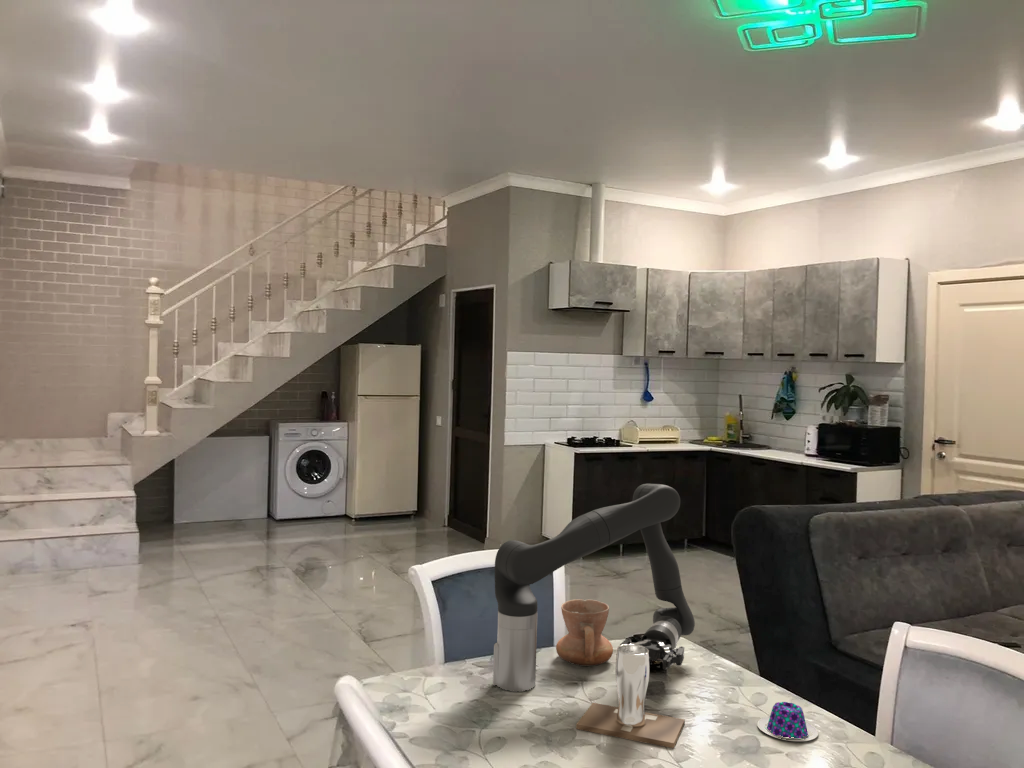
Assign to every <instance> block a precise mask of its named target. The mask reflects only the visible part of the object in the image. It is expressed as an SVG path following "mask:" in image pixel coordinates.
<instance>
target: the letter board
mask: <svg viewBox="0 0 1024 768" xmlns="http://www.w3.org/2000/svg"><path fill="white" fill-rule="evenodd" d="M618 707H619V706H614V705H613V706H612V705H608V704H602V703H596V702H592V703H591V704H590V705H589V707H588V708H587V709H586V711H585V712H584V713H583V714H582V716H581V717H580V719H579V720H578V721H577V722H576V724H575V725H576V726H575V729H576V730H581V731H586V732H591V733H595V734H601V735H606V736H610V737H616V738H621V739H626V740H629V741H635V742H641V743H645V744H649V745H656V746H662V747H665V748H670V749H674V748H675V747H676V744H677V742H678V740H679V738H680V735H681V733H682V731H683V728H684V726H685V724H686V722H685V720H686V719H684V718H679V717H673V716H667V715H662V714H656V713H651V712H646V711H645V717H646V723H645V725H643V726H641V727H627V726H623V725H621V724H619V723H618V722H617V720H616V717H617V712H618Z"/></svg>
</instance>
